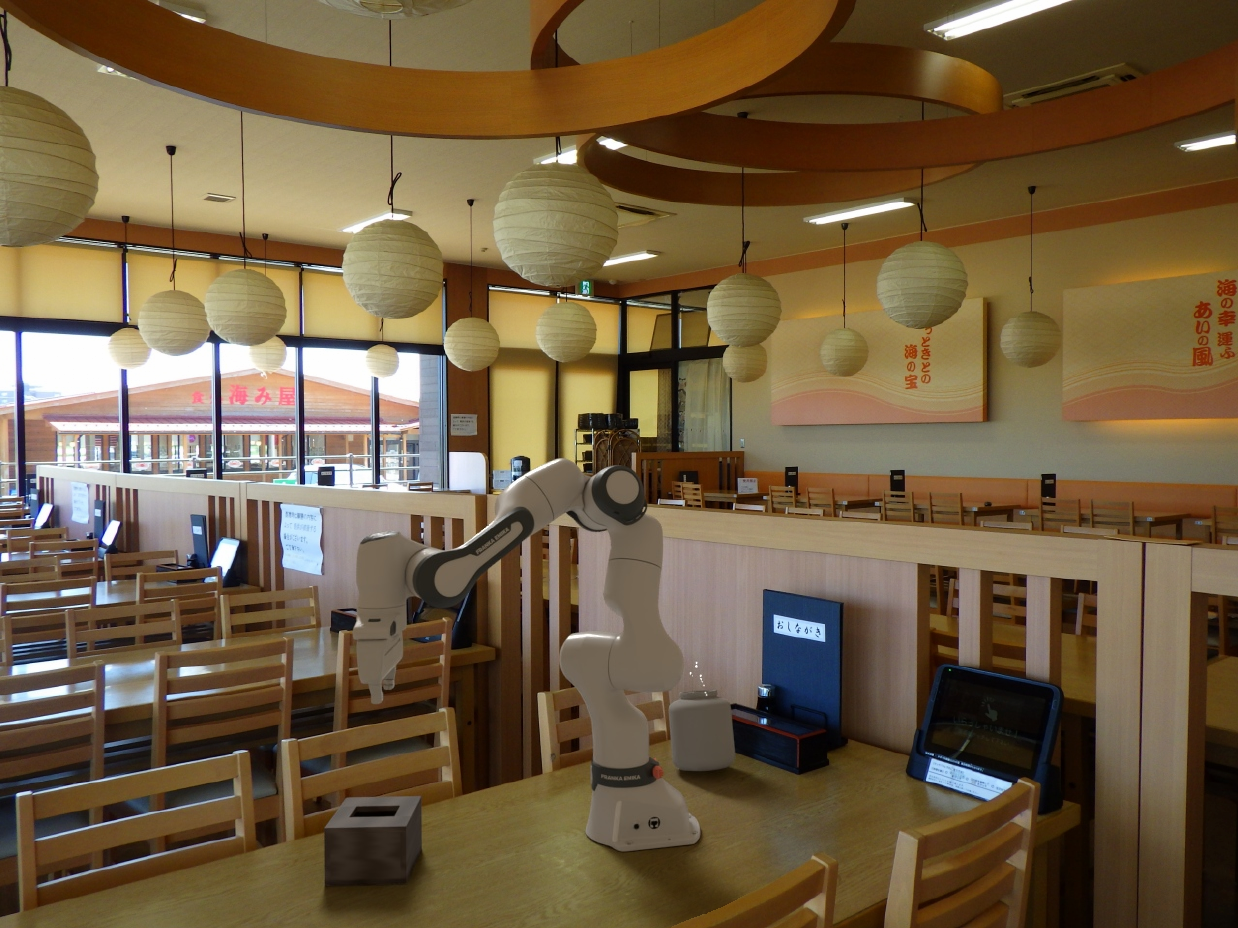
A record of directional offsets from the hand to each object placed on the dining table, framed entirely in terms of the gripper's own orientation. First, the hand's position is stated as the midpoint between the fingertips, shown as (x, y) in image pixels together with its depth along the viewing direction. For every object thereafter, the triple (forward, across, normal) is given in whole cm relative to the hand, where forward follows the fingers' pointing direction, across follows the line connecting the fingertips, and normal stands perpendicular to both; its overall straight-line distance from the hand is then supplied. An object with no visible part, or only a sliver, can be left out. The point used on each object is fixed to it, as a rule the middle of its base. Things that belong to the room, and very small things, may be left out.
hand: (383, 695), depth 162 cm
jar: (+31, -45, +64) cm, 84 cm away
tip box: (+30, +3, -1) cm, 30 cm away
